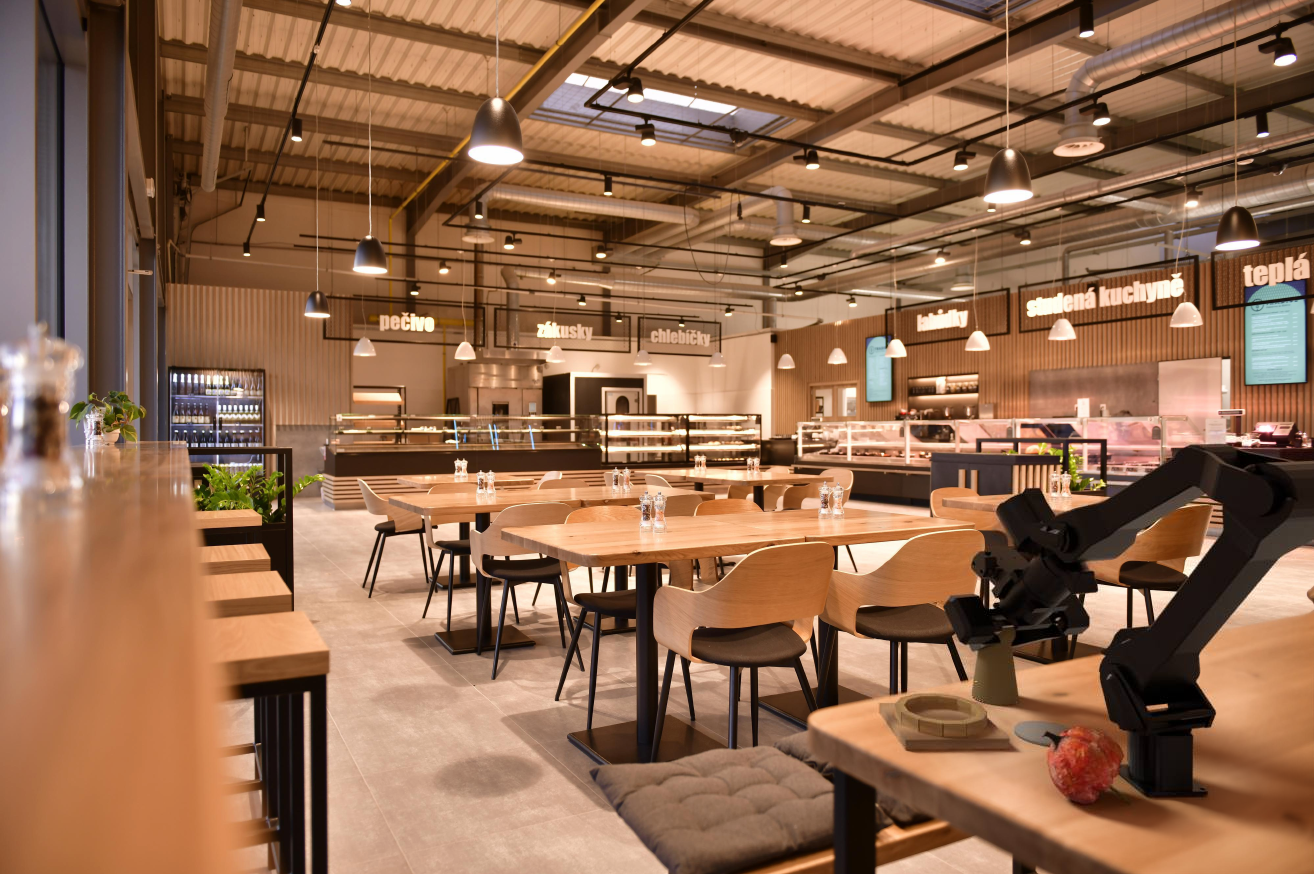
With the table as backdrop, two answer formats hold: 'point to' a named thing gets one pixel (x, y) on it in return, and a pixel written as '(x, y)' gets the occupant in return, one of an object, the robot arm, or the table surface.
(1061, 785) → the pomegranate
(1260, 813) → the table surface
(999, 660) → the olive green peg
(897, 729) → the hub board
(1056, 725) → the grey coaster
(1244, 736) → the table surface
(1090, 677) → the table surface
